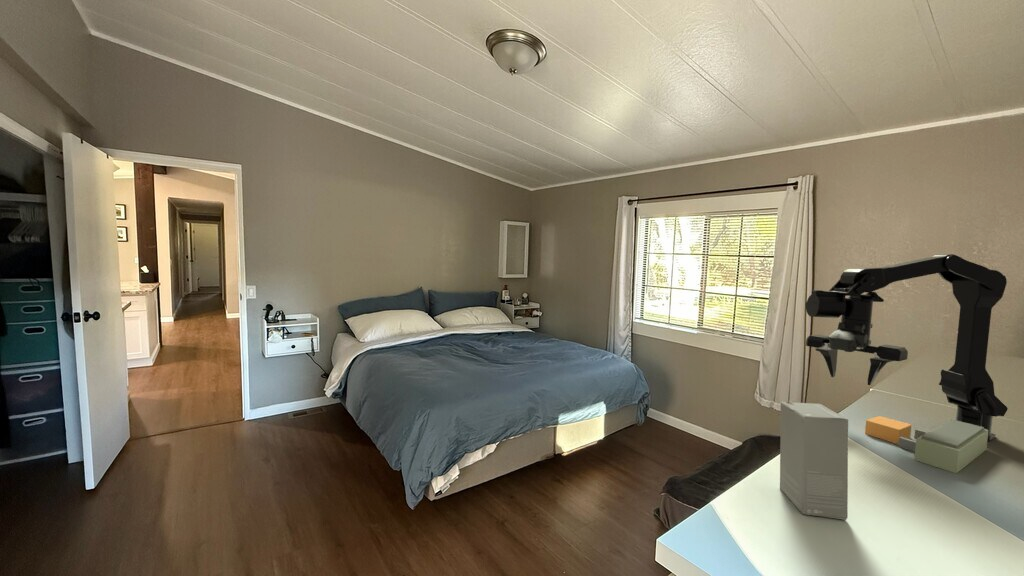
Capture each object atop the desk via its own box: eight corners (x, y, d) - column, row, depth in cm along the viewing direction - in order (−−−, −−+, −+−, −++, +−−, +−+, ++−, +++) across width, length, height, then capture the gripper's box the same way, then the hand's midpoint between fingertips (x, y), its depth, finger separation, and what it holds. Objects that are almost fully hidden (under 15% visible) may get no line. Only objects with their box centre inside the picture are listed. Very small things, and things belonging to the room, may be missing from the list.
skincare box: (848, 522, 62) (857, 421, 61) (796, 515, 63) (804, 415, 62) (818, 491, 70) (826, 402, 69) (772, 486, 72) (779, 398, 71)
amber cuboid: (877, 429, 100) (878, 415, 100) (910, 439, 95) (911, 424, 94) (864, 434, 96) (866, 420, 96) (897, 444, 91) (899, 429, 91)
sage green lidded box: (923, 432, 98) (925, 412, 98) (986, 449, 90) (988, 427, 89) (888, 451, 87) (891, 428, 87) (956, 473, 78) (959, 447, 78)
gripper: (797, 315, 104) (793, 375, 105) (893, 326, 88) (887, 396, 89) (818, 313, 110) (813, 370, 111) (911, 324, 94) (905, 389, 95)
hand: (850, 380), depth 102 cm, fingers open, 7 cm apart
